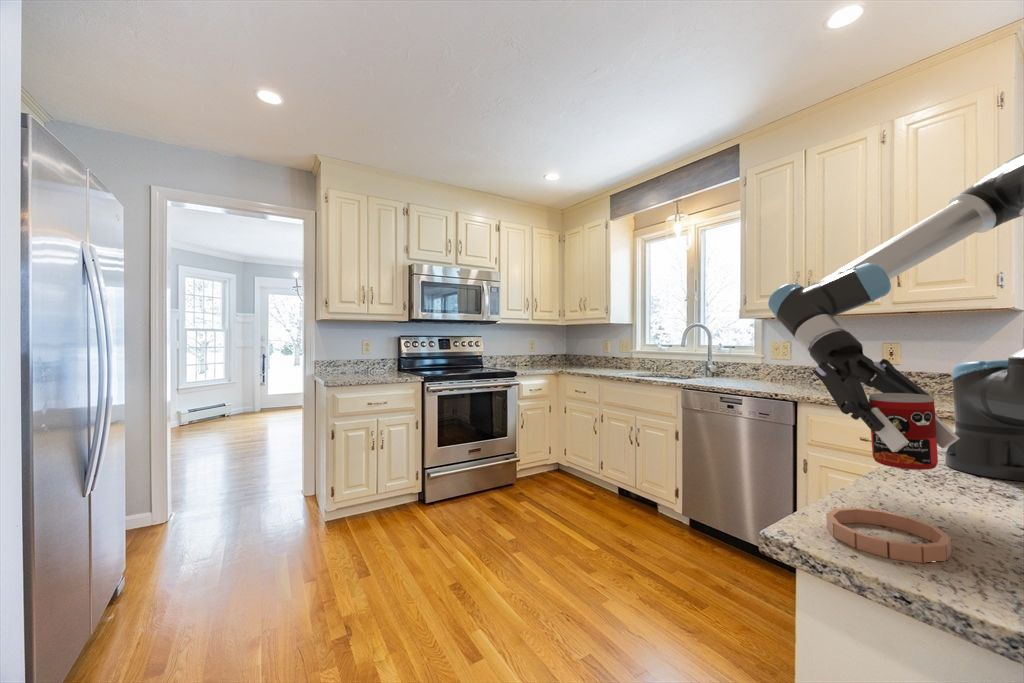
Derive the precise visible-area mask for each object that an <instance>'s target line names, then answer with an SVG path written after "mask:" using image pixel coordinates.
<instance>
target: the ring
mask: <svg viewBox="0 0 1024 683" xmlns="http://www.w3.org/2000/svg"><path fill="white" fill-rule="evenodd" d="M854 523H855V524H856V523H859V524H868V525H877V526H882V527H888V528H891V529H894V530H899V531H903V532H906V533H910V534H912V533H913V535H914V536H917V535H918V536H917V537H919V536H920V538H922V537H923V538H922V539H924V538H925V539H924V540H927V539H928V540H927V541H929V540H931V541H932V542H933V543H932V542H931V541H930V542H928V543H926V542H925V543H911V542H903V541H896V540H887V539H885V538H884V539H883V538H881V537H877V536H873V535H870V534H866V533H862V532H859V531H857V530H854V529H852V528H850V527H848V526H846V525H844V524H854ZM826 529H827V530H828V532H829V533H830V534H831V536H832V537H833V538H834V539H836V540H838V541H840V542H842V543H844V544H846V545H848V546H850V547H852V548H854V549H857V550H860V551H863V552H866V553H869V554H870V553H871V554H873V555H876V556H880V557H883V558H887V559H888V558H889V559H890V560H891V559H892V560H897V561H898V560H899V561H905V562H911V563H918V562H919V564H926V563H925V562H932V561H944V562H947V561H946V560H948V561H949V559H948V558H950V557H951V555H952V536H950V535H948V533H946V532H945V531H943V530H942V529H941V528H939V527H938V526H935V525H933V524H930V523H927V522H925V521H922V520H919V519H917V518H914V517H911V516H907V515H903V514H899V513H894V512H889V511H885V510H880V509H872V508H864V507H863V508H862V507H855V506H854V507H840V508H833V509H831V510H830V511H828V512H827V513H826ZM920 562H921V563H920Z"/></svg>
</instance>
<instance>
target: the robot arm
mask: <svg viewBox="0 0 1024 683" xmlns="http://www.w3.org/2000/svg"><path fill="white" fill-rule="evenodd" d="M1019 217H1024V152H1023V153H1021V154H1018V155H1017V156H1014V157H1013V158H1011V159H1009V160H1007V161H1005V162H1004V163H1002V164H1001V165H1000V166H998V167H997V168H995V169H993V170H992V171H991V172H990V173H988V174H987V175H986V176H983V177H982V178H981V179H979V181H976V183H974V184H973V185H971V186H970V187H968V188H966V189H965V190H963V191H962V192H960V193H958V194H956V195H955V196H953V197H952V198H951V199H949V202H948V205H946V206H945V207H944V208H942V209H940V210H938V211H937V212H935V213H933V214H931V215H930V216H928V217H927V218H925V219H923V220H922V221H919V222H917V223H916V224H914V225H912V226H911V227H910V228H908V229H906V230H904V231H902V232H900V233H899V234H897V235H896V236H894V237H892V238H890V239H889V240H887V241H885V242H883V243H882V244H880V245H878V246H876V247H875V248H874V249H873V248H872V249H871V250H869V251H868V252H866V253H865V254H863V255H861V256H860V257H857V258H856V259H854V260H852V261H851V262H849V263H848V264H846V265H844V266H842V267H840V268H838V269H837V270H836V271H834V272H832V273H831V274H829V275H827V276H825V277H823V278H822V279H820V280H818V281H816V282H814V283H811V284H809V285H808V286H806V287H804V286H802V285H800V284H799V283H794V282H793V283H786V284H784V285H781V286H780V287H779V288H777V289H775V291H773V292H772V294H771V295H770V297H769V298H768V304H767V305H768V307H769V310H770V311H771V312H772V314H773V315H774V316H775V317H776V320H777V321H779V322H780V323H781V324H782V326H783V327H785V329H786V330H787V331H788V332H789V333H790V334H791V335H792V336H793V338H794V339H795V341H797V342H798V343H799V344H800V345H801V346H802V347H803V349H805V351H806V352H807V353H808V354H809V355H810V357H811V359H812V360H813V361H814V362H815V363H816V364H817V366H816V367H815V369H814V370H813V372H812V373H813V374H814V375H815V376H816V377H817V378H818V379H820V381H821V383H823V385H824V386H825V388H826V390H827V391H828V393H829V394H830V396H831V398H832V399H833V401H834V403H835V404H836V406H837V407H838V408H839V411H841V413H842V414H844V415H849V414H850V417H851V418H852V419H854V420H855V421H856V420H857V421H858V420H859V419H860V420H862V421H863V423H865V424H866V426H867V427H868V429H869V430H870V431H871V430H872V431H874V432H875V433H876V434H877V435H878V436H879V437H880V438H881V439H882V441H883V442H884V443H885V444H886V445H887V446H888V447H889V449H890V450H891V451H892V452H897V451H899V450H900V449H901V448H903V447H904V446H905V445H906V444H908V443H909V441H908V440H907V439H906V438H905V437H904V436H903V435H902V434H901V433H900V432H899V430H898V429H897V428H896V427H895V426H894V425H893V424H892V423H891V422H890V421H889V420H888V419H887V418H886V416H885V415H884V414H883V413H882V412H881V411H880V410H879V409H878V408H872V409H871V410H870V409H869V408H870V407H871V406H870V404H869V398H868V397H867V395H866V392H865V389H864V387H863V385H865V386H867V387H868V388H874V389H876V390H877V391H879V393H910V394H923V395H929V396H931V395H930V394H928V393H927V392H926V391H925V390H923V389H922V388H921V387H920V386H918V385H917V384H916V383H915V382H913V381H912V380H911V379H910V378H908V377H907V376H906V375H904V374H903V373H902V372H901V371H899V370H898V369H896V368H895V366H893V364H892V363H891V361H890V360H889V359H885V358H882V359H881V360H880V361H873V360H872V359H871V358H869V357H868V356H867V355H865V354H864V351H863V350H864V349H863V344H862V343H861V341H859V340H858V339H857V338H856V337H855V336H854V335H853V334H852V333H851V332H850V331H848V330H847V328H846V327H845V326H844V325H842V323H841V322H839V321H838V320H837V319H836V318H835V317H836V316H838V315H841V314H843V313H846V312H848V311H851V310H853V309H856V308H858V307H862V306H864V305H866V304H867V305H868V304H869V303H873V302H875V301H877V300H879V299H881V298H883V297H885V296H887V295H888V294H889V293H890V291H891V287H892V284H891V281H890V280H892V279H894V278H896V277H897V276H899V275H901V274H902V273H904V272H906V271H908V270H910V269H912V268H914V267H915V266H918V265H919V264H921V263H923V262H925V261H926V260H928V259H930V258H931V257H934V256H935V255H937V254H938V253H941V252H942V251H944V250H946V249H948V248H950V247H952V246H953V245H955V244H957V243H959V242H960V241H962V240H964V239H966V238H967V237H969V236H972V235H973V234H975V233H986V232H989V231H991V230H993V229H995V228H996V227H998V226H1000V225H1002V224H1005V223H1008V222H1009V221H1012V220H1015V219H1017V218H1019ZM1022 329H1023V330H1022V340H1021V341H1022V342H1021V348H1020V349H1019V350H1017V351H1016V352H1014V353H1012V354H1010V355H1009V356H1007V358H1008V359H995V360H994V359H993V360H992V359H991V360H979V361H978V360H977V361H967V362H960V363H958V364H956V365H955V366H954V367H953V370H952V378H951V382H952V385H953V389H952V390H953V403H954V404H953V405H954V406H953V408H954V425H955V426H954V431H953V430H952V429H951V428H950V427H949V426H948V425H946V424H945V423H944V421H943V420H942V419H941V417H939V415H937V414H936V413H935V420H936V437H937V446H939V447H940V448H941V449H946V451H945V453H944V454H945V455H944V458H945V459H944V460H945V466H946V467H949V468H951V469H954V470H956V471H960V472H964V473H968V474H974V475H977V476H983V477H989V478H993V479H994V478H995V479H1001V480H1009V481H1018V482H1024V325H1023V328H1022ZM862 384H863V385H862Z"/></svg>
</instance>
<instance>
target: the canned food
mask: <svg viewBox="0 0 1024 683" xmlns="http://www.w3.org/2000/svg"><path fill="white" fill-rule="evenodd" d="M929 395H930V394H929ZM929 395H923V394H910V393H882V392H877V393H876V392H875V393H871V394H868V396H869V397H868V401H869V404H870V406H871V407H870V408H869V409H870V410H871V409H872V408H878V409H879V410H880V411H881V412H882V413H883V414H884V415H885V416H886V418H887V419H888V420H889V421H890V422H891V423H892V424H893V425H894V426H895V427H896V428H897V429H898V430H899V432H900V433H901V434H902V435H903V436H904V437H905V438H906V439H907V440H908V441H909V443H908V444H906V445H905V446H904V447H903V448H901V449H900V450H899V451H897V452H892V451H891V450H890V449H889V447H888V446H887V445H886V444H885V443H884V442H883V441H882V439H881V438H880V437H879V436H878V435H877V434H876V433H875V432H874V431H872V430H871V429H870V436H871V438H870V439H871V451H872V456H873V459H874V462H876V463H877V464H880V465H883V466H887V467H892V468H897V469H898V468H899V469H902V470H903V469H904V470H905V469H906V470H915V471H916V470H918V471H920V470H921V471H925V470H926V471H927V470H933V469H935V468H937V465H938V464H939V463H938V462H939V460H938V459H939V458H938V457H939V455H938V444H937V437H936V420H935V414H936V407H935V399H934V396H932V395H930V396H929Z"/></svg>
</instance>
